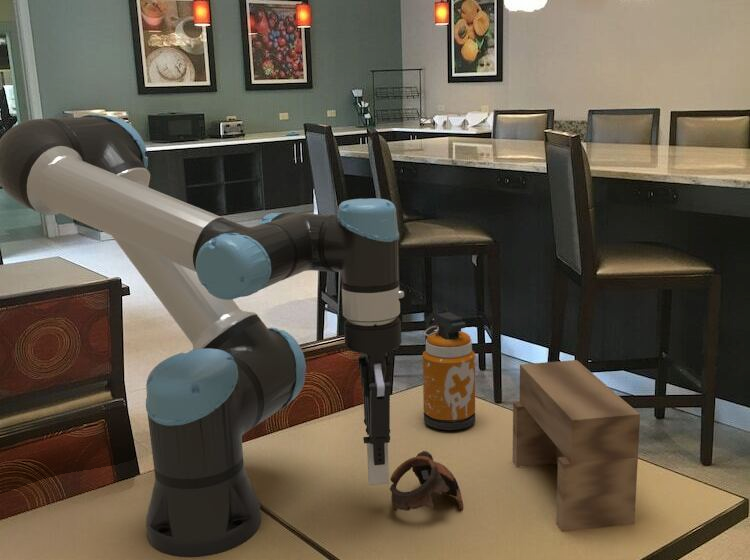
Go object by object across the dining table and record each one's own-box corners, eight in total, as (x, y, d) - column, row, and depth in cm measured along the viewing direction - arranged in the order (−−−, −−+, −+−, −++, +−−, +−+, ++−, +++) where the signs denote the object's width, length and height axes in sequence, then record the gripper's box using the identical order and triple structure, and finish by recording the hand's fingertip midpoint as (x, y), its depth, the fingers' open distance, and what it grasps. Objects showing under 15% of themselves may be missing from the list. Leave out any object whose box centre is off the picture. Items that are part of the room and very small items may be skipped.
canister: (439, 437, 133) (437, 323, 128) (409, 414, 143) (407, 307, 138) (485, 426, 137) (485, 315, 132) (453, 404, 146) (452, 300, 142)
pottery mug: (473, 523, 107) (447, 482, 103) (411, 550, 108) (383, 511, 105) (459, 465, 118) (435, 426, 114) (403, 491, 119) (377, 453, 116)
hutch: (561, 534, 103) (564, 420, 100) (512, 461, 124) (513, 364, 120) (634, 526, 105) (640, 414, 101) (573, 455, 125) (576, 359, 121)
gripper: (408, 329, 98) (414, 502, 103) (392, 303, 111) (398, 458, 116) (348, 334, 97) (356, 508, 103) (339, 306, 110) (347, 463, 115)
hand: (378, 481), depth 109 cm, fingers closed
